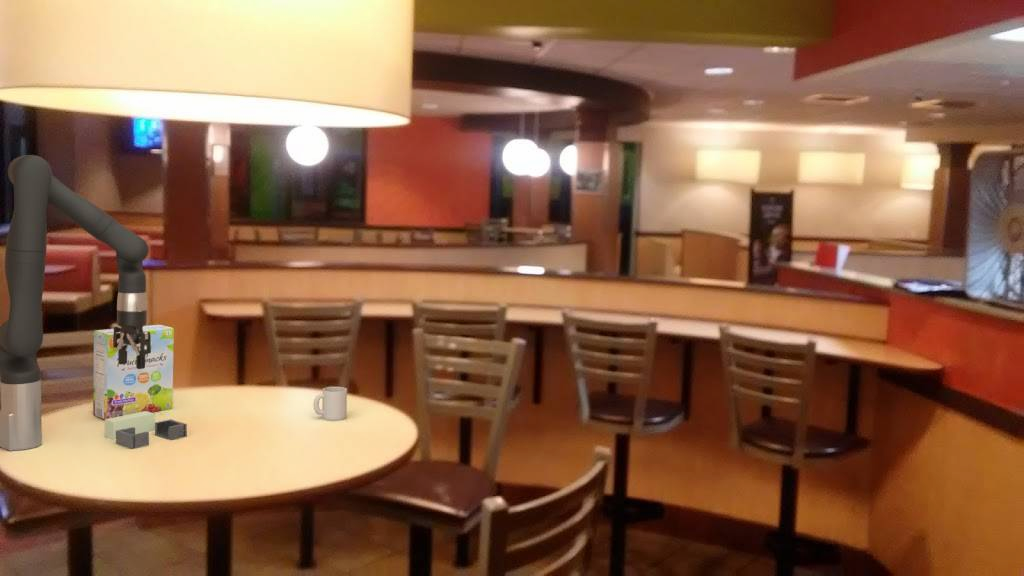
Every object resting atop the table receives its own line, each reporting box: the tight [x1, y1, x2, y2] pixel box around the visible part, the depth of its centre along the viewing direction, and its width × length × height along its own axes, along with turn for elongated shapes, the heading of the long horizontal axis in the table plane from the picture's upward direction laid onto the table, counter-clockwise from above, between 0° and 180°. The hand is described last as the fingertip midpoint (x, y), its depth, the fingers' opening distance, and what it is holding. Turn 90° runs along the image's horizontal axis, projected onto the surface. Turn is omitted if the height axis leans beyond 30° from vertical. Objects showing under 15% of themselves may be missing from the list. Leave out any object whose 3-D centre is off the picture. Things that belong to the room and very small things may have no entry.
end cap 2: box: [154, 418, 188, 441], centre depth 252 cm, size 5×7×4 cm
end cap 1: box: [115, 427, 150, 450], centre depth 242 cm, size 5×7×4 cm
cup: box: [313, 386, 348, 422], centre depth 276 cm, size 7×10×9 cm
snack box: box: [92, 324, 175, 421], centre depth 273 cm, size 22×9×26 cm, turn 143°
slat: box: [104, 411, 156, 440], centre depth 253 cm, size 12×4×5 cm, turn 145°
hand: (131, 366), depth 252 cm, fingers open, 8 cm apart
